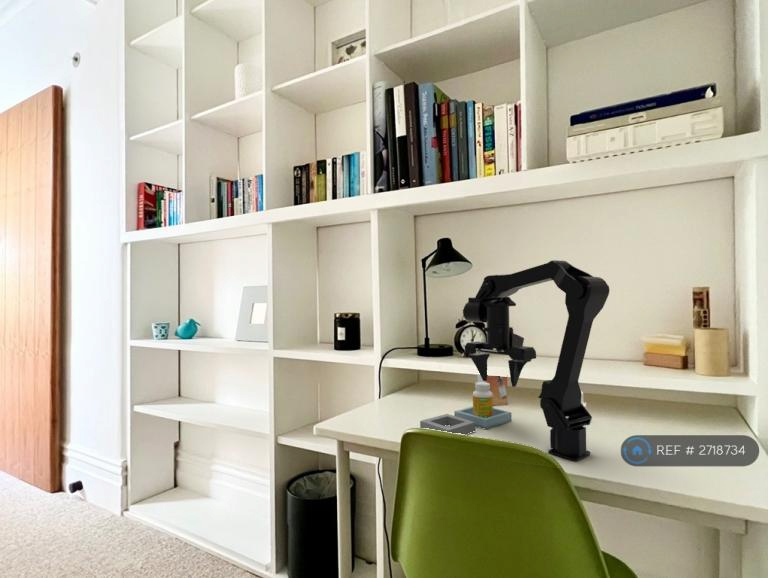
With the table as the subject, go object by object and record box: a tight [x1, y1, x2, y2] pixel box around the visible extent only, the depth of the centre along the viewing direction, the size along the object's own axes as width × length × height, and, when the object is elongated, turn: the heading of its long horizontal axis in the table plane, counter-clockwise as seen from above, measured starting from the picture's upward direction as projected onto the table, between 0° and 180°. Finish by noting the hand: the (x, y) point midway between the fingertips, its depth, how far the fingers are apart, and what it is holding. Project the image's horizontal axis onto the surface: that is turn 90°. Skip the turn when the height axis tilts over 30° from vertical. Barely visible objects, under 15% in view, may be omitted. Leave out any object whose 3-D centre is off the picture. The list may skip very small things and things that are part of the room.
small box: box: [476, 374, 509, 406], centre depth 138 cm, size 8×6×10 cm
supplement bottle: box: [472, 381, 494, 418], centre depth 119 cm, size 5×5×10 cm
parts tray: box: [454, 405, 513, 430], centre depth 119 cm, size 11×11×2 cm
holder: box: [419, 413, 477, 435], centre depth 111 cm, size 10×10×2 cm
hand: (499, 383), depth 111 cm, fingers open, 9 cm apart
